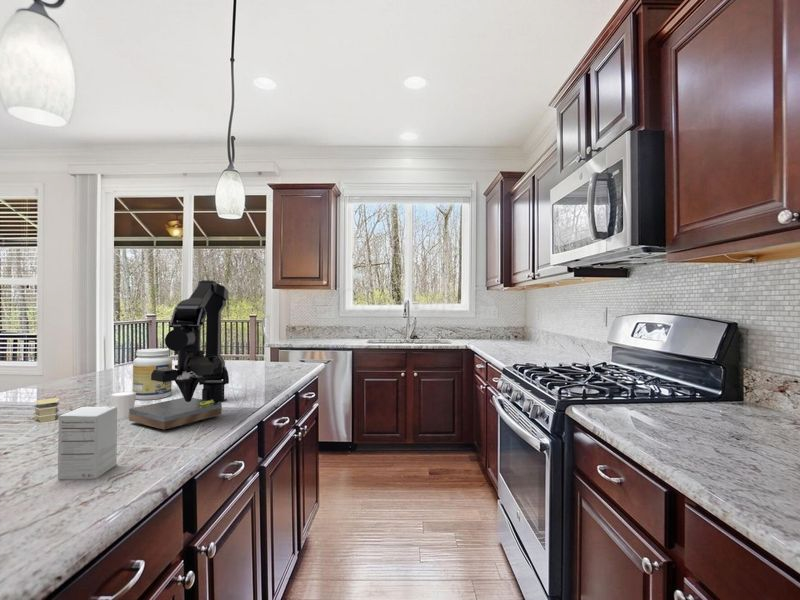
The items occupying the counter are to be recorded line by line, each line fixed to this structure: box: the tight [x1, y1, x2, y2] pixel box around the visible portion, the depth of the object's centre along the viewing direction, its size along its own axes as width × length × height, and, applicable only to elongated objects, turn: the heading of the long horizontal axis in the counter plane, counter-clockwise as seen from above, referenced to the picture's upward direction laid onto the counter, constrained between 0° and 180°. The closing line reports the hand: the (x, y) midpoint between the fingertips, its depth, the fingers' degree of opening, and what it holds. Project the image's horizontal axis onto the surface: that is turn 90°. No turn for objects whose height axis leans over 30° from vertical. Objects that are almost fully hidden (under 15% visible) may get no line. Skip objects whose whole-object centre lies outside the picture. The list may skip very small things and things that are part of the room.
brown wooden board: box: [128, 407, 223, 430], centre depth 124 cm, size 18×16×3 cm
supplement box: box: [57, 406, 118, 480], centre depth 87 cm, size 7×7×13 cm
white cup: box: [108, 391, 136, 421], centre depth 127 cm, size 7×7×7 cm
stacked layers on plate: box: [32, 397, 60, 423], centre depth 124 cm, size 10×9×6 cm
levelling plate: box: [129, 397, 223, 422], centre depth 124 cm, size 18×16×2 cm
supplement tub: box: [132, 347, 173, 401], centre depth 153 cm, size 12×12×17 cm
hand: (188, 401), depth 121 cm, fingers closed
